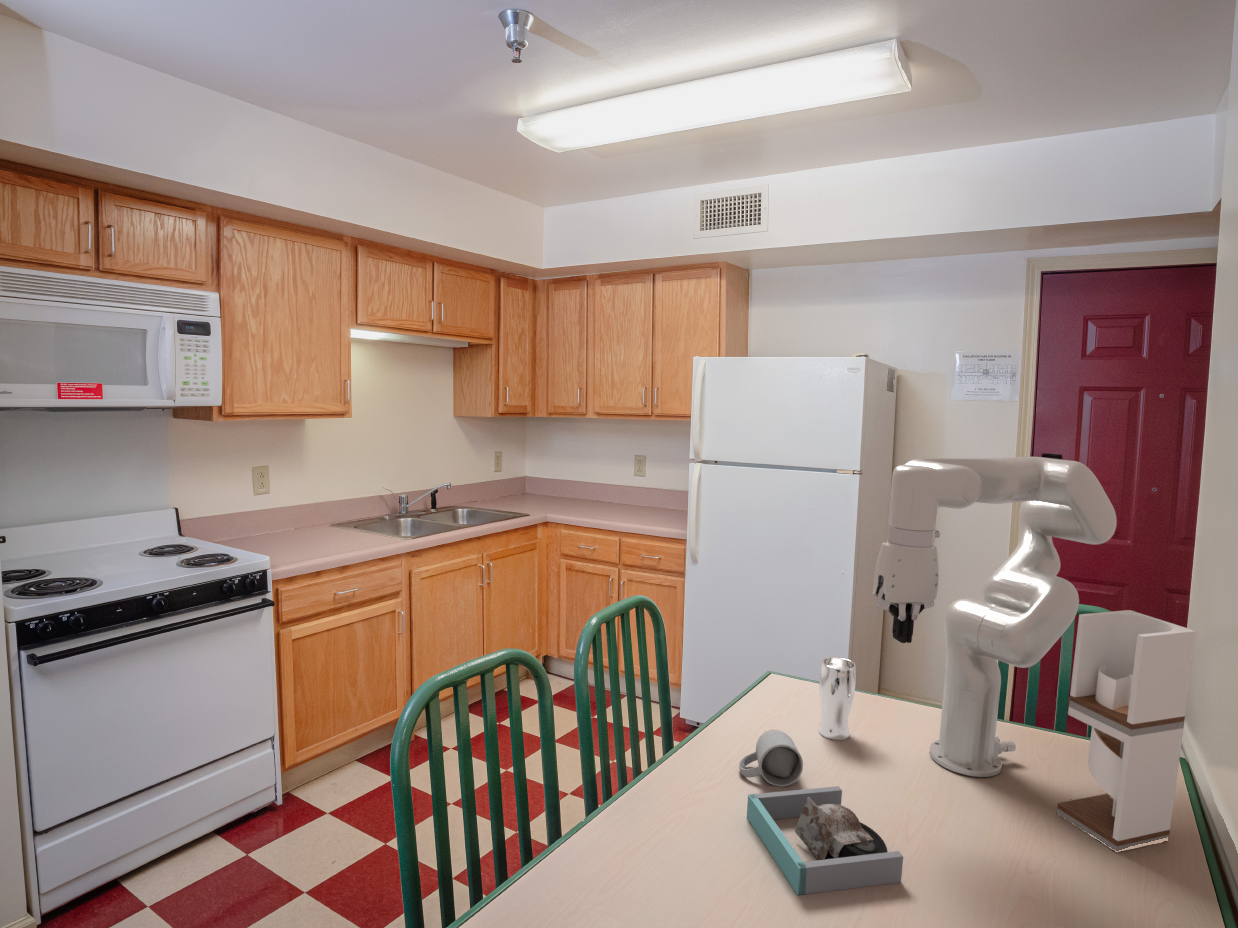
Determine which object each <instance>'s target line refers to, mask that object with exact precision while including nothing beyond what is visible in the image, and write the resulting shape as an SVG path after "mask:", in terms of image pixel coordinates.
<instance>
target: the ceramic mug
mask: <svg viewBox="0 0 1238 928" xmlns="http://www.w3.org/2000/svg"><path fill="white" fill-rule="evenodd" d="M755 745H756V746H755V751H754V752H752V753H748V754H747V755H746V756H744V757H742V759H740V761H739V763H738V769H739V771H740V773H741V775H742V776H743V777H744V778H755V777H759V776H762V778H763V779H764V780H765V781H766V782H767V783H768V784H770V785H773V786H774V787H780V788H781V787H783V788H784V787H788V786H791V785H793V784H795V783H796V782H797V781H798V780H799V778H800V777H801V774H802V772H803V769H804V768H803V767H804V760H803V757H802V755H801V753H800V751H799V749H798V748H797V746H796V744H795V742H794V741H793V739H792V738H791V736H789V735H788V734H787V733H786V732H784V731H782V730H779V729H770V730H767V731H764V732H763V733H762V734H761V735H760V736H759V737H758V739H757V740H756V744H755ZM755 761H757V764H758V766H756V767H752V768H746V766H748V765H750V764H751V763H752V762H753V763H754V762H755Z"/></svg>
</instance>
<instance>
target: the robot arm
mask: <svg viewBox="0 0 1238 928" xmlns="http://www.w3.org/2000/svg"><path fill="white" fill-rule="evenodd" d="M889 499H890V500H889V512H888V525H887V535H886V542H882V543H881V546H880V549H879V553H878V555H877V558H876V559H877V560H876V564H875V570H874V574H873V575H874V576H873V584H872V594H873V595H874V596H875V597H876V601H875V607H877V608H879V609H880V610H884V611H888V613H890V616H892V617H893V618H892V619H893V620H892V621H893V622H892V638H893V639H895V640H896V641H898V642H899V643H902V644H906V643H907V644H911V643H912V641H913V636H914V625H915V624H914V623H915V621H917V620H918V618H919V615H920V614H921V613H922V612H923V611H924V610H926V609H931V608H933V607H934V606H935V601H936V599H937V596H938V592H939V591H938V590H939V577H940V576H939V557H938V550H937V549H938V548H937V546H936V545H935V539H938V538H940V537H941V536H940V535H941V533H940V531H939V530H937V529H936V525H937V513H938V509H939V508H948V509H954V510H955V509H956V510H957V509H958V510H961V509H966V508H968V507H971V506H972V505H973V504H975V503H980V504H990V505H992V504H994V505H1002V504H1011V503H1021V505H1020V508H1019V512H1018V536H1017V537H1018V539H1017V545H1016V547H1015V549H1014V550H1013V551H1012V553H1011V554H1010V555H1009V556H1008V557H1007V558H1006V559H1005V560H1004V561H1003V562H1002V563H1001V564H1000V566H999V567H998V568H996V570H995V571H993V573H992V574H991V575H990V576H989V577H988V579H987V580H986V582H985V583H984V585H983V587H982V596H983V599H984V600H982V599H977V598H972V597H962V598H958V599H956V600H954V601H953V602H951V604H949V606H948V607H947V608H946V611H945V614H944V619H943V621H944V622H943V626H944V636H945V638H944V639H945V644H946V645H945V646H946V649H945V650H946V660H945V674H944V675H945V676H944V683H943V684H944V685H943V695H942V703H941V704H942V706H941V717H940V728H939V737H938V740H934V741H933V742H932V743H930V745H929V756H930V758H932V760H933V761H935V762H936V764H938V765H940V766H941V767H943V768H945V769H946V770H949V771H952V772H954V773H957V774H961V775H964V776H969V777H974V778H976V777H977V778H989V777H994V776H996V775H998V774H999V773H1001V771H1002V767H1003V763H1002V760H1001V758H1000V757H999V755H1001V754H1002V753H1003V752H1005V753H1008V752H1015V751H1016V744H1015V742H1014V741H1013V740H1003V741H1001V740H1000V738H999V737H998V736H996V734H997V732H996V731H997V722H998V716H999V715H998V713H999V703H1000V693H1001V685H1002V675H1001V669H1000V667H999V664H998V661H1000V662H1002V663H1004V664H1008V665H1010V666H1013V667H1016V668H1022V669H1025V668H1031V667H1033V666H1034V665H1036V664H1037V663H1038V662H1040V661H1041V660H1042V658H1044V656H1046V655H1047V653H1048V652H1049V651H1050V650H1051V648H1052V647H1053V646H1054V644H1056V642H1058V641H1059V639H1060V638H1061V637H1062V636H1063V634H1064V633H1065V632H1066V631H1067V630H1068V628H1069V627H1070V626H1071V624H1072V623H1073V621H1074V620H1075V618H1076V615H1077V612H1078V611H1079V606H1080V597H1079V593H1078V590H1077V589H1076V586H1075V585H1074V584H1073V583H1072V582H1070V580H1067V579H1065V578H1063V577H1060V576H1057V575H1058V574H1059V573H1060V570H1061V559H1060V556H1059V554H1058V551H1057V549H1056V547H1055V545H1054V542H1053V538H1056V539H1057V538H1058V539H1062V540H1069V541H1073V542H1078V543H1083V544H1087V545H1101V544H1105V543H1107V542H1108V541H1109V540H1110V539H1112V537H1113V536H1114V534H1115V532H1116V528H1117V525H1118V524H1117V521H1118V520H1117V514H1116V510H1115V508H1114V506H1113V504H1112V502H1111V500H1110V498H1109V496H1108V495H1107V493H1106V492H1105V489H1104V488H1103V486H1102V484H1101V483H1100V481H1099V479H1098V478H1097V477H1096V475H1095V474H1094V472H1093V471H1092V470H1091V469H1090V468H1089V467H1088V466H1087V465H1086V464H1083V462H1080V461H1076V460H1068V459H1060V458H1059V459H1058V458H1051V457H1050V458H1049V457H1042V456H1017V457H1016V456H1015V457H991V458H989V457H972V458H969V457H968V458H948V457H947V458H946V457H945V458H943V457H941V458H938V457H937V458H936V457H935V458H915V459H911V460H909V461H907V462H906V463H905V464H900V465H897V466H896V467H894V469H893V471H892V475H891V488H890V498H889Z"/></svg>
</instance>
